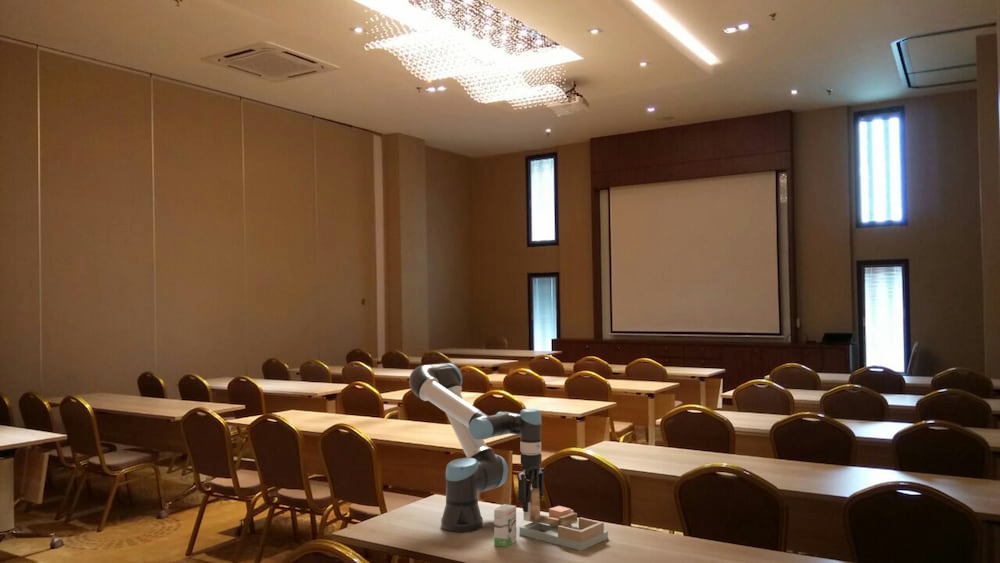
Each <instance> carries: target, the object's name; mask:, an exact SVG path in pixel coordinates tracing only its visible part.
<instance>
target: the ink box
mask: <svg viewBox="0 0 1000 563" xmlns="http://www.w3.org/2000/svg"><path fill="white" fill-rule="evenodd" d="M493 513H494V514H493V517H494V519H493V523H494V524H493V526H494V528H493V529H494V531H493V533H494V534H493V535H494V536H493V537H494V542H493V544H494V545H493V546H495V547H503V548H504V547H505V548H508V547H510V546H511V545H512V544H513V543H514V542H516V541H517V505H512V504H505V503H504V504H502V505H499V506H498V507H496V508H495V509H494V511H493Z"/></svg>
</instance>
